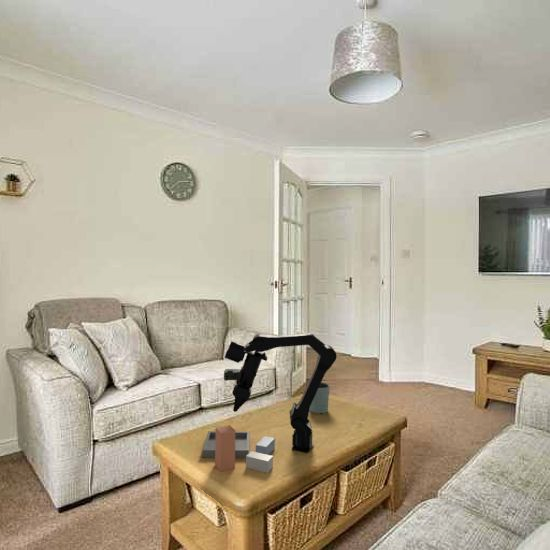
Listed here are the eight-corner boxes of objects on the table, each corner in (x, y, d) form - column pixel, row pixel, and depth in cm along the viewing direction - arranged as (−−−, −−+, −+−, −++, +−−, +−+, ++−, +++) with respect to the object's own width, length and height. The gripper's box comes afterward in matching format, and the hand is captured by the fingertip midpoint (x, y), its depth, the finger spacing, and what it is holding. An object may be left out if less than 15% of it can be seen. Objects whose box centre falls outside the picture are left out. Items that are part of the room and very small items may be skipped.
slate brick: (264, 446, 149) (264, 436, 149) (274, 448, 148) (274, 438, 148) (255, 456, 142) (255, 444, 142) (265, 458, 140) (266, 446, 140)
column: (228, 461, 137) (229, 425, 137) (234, 468, 133) (235, 430, 132) (215, 464, 134) (215, 427, 134) (220, 471, 130) (221, 433, 130)
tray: (249, 438, 156) (249, 431, 156) (248, 457, 140) (248, 450, 140) (208, 438, 155) (208, 431, 155) (202, 457, 139) (202, 450, 139)
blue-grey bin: (323, 416, 181) (323, 389, 181) (303, 411, 186) (303, 385, 186) (332, 409, 189) (333, 384, 189) (313, 405, 195) (314, 380, 195)
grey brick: (272, 467, 134) (273, 456, 133) (267, 473, 130) (267, 461, 130) (251, 462, 137) (251, 451, 137) (245, 468, 133) (245, 456, 133)
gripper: (232, 354, 157) (219, 391, 158) (226, 365, 139) (211, 408, 139) (259, 364, 157) (245, 401, 158) (257, 377, 139) (241, 419, 139)
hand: (235, 406), depth 148 cm, fingers open, 9 cm apart
